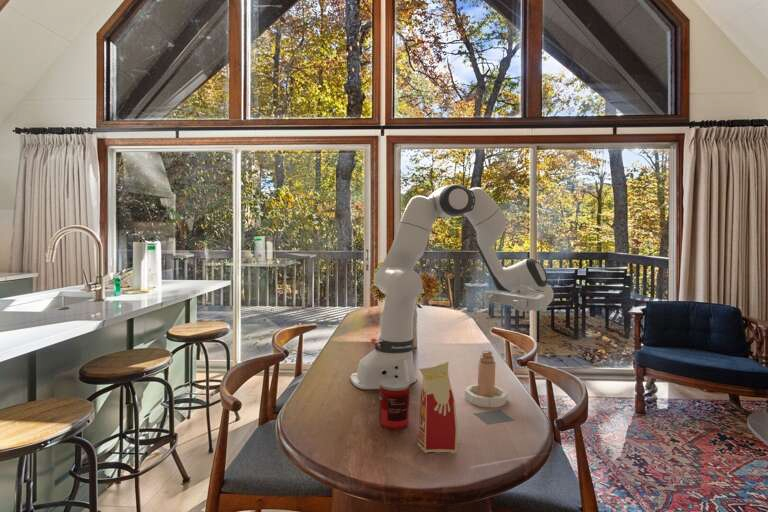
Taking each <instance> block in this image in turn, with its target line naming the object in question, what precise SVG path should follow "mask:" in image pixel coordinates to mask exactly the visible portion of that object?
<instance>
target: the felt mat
mask: <svg viewBox="0 0 768 512" xmlns="http://www.w3.org/2000/svg"><path fill="white" fill-rule="evenodd" d="M473 414H474V415H475V416H476V417H477V418H479V419H480V420H481V421H482V422H484V423H485V424H486V425H492V424H498V423H499V424H500V423H505V422H507V423H509V422H513V421H516V419H514V418H512V416H509V415H508V414H507V413H505V412H504V411H502V410H501V409H497V410H490V411H482V412H476V413H475V412H474V413H473Z"/></svg>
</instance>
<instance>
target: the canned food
mask: <svg viewBox="0 0 768 512" xmlns="http://www.w3.org/2000/svg"><path fill="white" fill-rule="evenodd" d="M378 413H379V416H378V417H379V418H378V419H379V423H380V426H382V427H383V428H385V429H388V430H392V431H393V430H396V431H397V430H398V431H399V430H402V429H405V428H407V427H408V425H409V422H410V421H409V420H410V419H409V418H410V417H409V416H410V385H409V382H408V381H406V380H404V379H400V378H387V379H383V380H382V381H381V382H380V389H379V412H378Z"/></svg>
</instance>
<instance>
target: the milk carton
mask: <svg viewBox="0 0 768 512" xmlns="http://www.w3.org/2000/svg"><path fill="white" fill-rule="evenodd" d="M418 370H419V371H420V372H421V375H422V377H423V378H422V384H421V389H420V390H421V392H420V400H419V401H420V403H419V414H418V416H419V420H418V422H419V423H418V424H419V427H418V435H417V436H418V437H417V447H419V446H420V447H421V448H420V447H419V448H420V449H421V450H422V451H423V452H424V453H425V454H428V453H427V452H435V453H441V452H451V453H450V454H457V453H458V452H457V451H458V450H457V449H458V421H457V419H458V418H457V411H456V399H455V397H454V392H453V389H452V384H451V382H450V378H449V377H450V375H449V361H446V362H443V363H442V362H441V363H440V364H436V365H434V366H429V367H428V366H427V367H422V368H418Z"/></svg>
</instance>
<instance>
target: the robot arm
mask: <svg viewBox="0 0 768 512" xmlns="http://www.w3.org/2000/svg"><path fill="white" fill-rule="evenodd" d="M462 215H463V216H465V217H466V219H468V221H469V222H470V224H471V225H472V226H473V228H474V230H475V233H476V237H475V245H476V248H477V250H478V252H479V255H480V256H481V258H482V260H483V262H484V264H485V266H486V268H487V270H488V272H489V275H490V276H491V280H492V282H493V285H494V287H495V290H485V292H484V296H483V297H484V301H485V302H487V303H488V302H489V303H493V304H499V305H505V306H511V307H512V308H513V309H514V310H516V311H518V312H530V311H534V312H536V311H537V312H547V309H548V306H549V305H550V304H551V303H552V301H554V300H553V299H554V296H555V294H554V289H553V288H552V287H551V286H550V285H549V283H548V277H547V273H546V269H545V267H544V266H543V265H542V263H540V262H539V261H537V260H536V259H533V258H531V257H527V258H526V259H523V260H521V261H520V260H519V261H518V262H516V263H514V264H512V265H509V266H503V265H502V263H501V261H500V259H499V258H498V255H497V253H496V251H495V248H494V246H495V244H496V242H497V241H498V240H499V239H500V238H501V236H502V235H503V234H504V232H505V230H506V228H507V218H506V215H505V214H504V212H503V211H502V209H501V208H500V207H499V205H498V204H497V202H496V201H495V200H494V199H493V197H491V195H489V193H487V191H485V190H484V189H483V188H481V187H478V186H477V187H471V188H467V187H465V186H463V185H461V184H459V183H452V184H448V185H442V186H441V187H439V188H436V189H434V190H433V191H432V192H430V193H429V194H428V195H427V196H424V195H416V196H413V197H411V198H410V200H409V201H408V202H407V205H406V207H405V209H404V211H403V212H402V216H401V217H400V221H399V222H398V223H399V224H398V226H397V230H396V233H395V235H394V240H393V241H392V245H391V247H390V248H389V250H388V253H387V254H386V257H385V258H384V259H383V262H382V264H381V266H380V268H379V269H377V271H376V272H375V276H374V282H375V285H376V287H377V288H378V289H379V290H380V292H381V293H383V294H385V300H384V305H383V306H384V307H383V310H382V312H381V314H380V326H379V327H380V328H379V329H380V330H379V331H380V333H379V334H380V335H379V337H378V339H376V338H375V337H372V338H371V339H370V343H371V344H372V345H373V346H374V349H372V350H371V351H370V352H369V353H368V354H366V355H365V356H364V357H362V358H361V359H360V360H359V362H358V365H357V371H356V372H353V373H351V375H350V382H351V384H353V385H354V386H355V387H356V388H359V389H360V390H380V382H381V381H382V380H383V379H387V378H400V379H404V380H406V381H408V382H409V386H410V385H412V384H414V383H415V382H416V381H417V380H418V378H417V375H416V371H415V365H414V351H415V342H414V341H415V339H414V337H413V332H414V330H413V329H414V315H415V311H416V310H415V308H416V306H417V301H418V299H419V298H418V297H419V296H420V295H421V293H422V291H423V289H424V282H423V280H422V278H421V276H420V275H419V273H417V272H416V271H415V270H414V268H415V267H416V264H417V263H418V261H419V260H420V259H421V258H422V257H423V255H424V253H425V251H426V247H427V244H428V241H429V239H430V235H431V233H432V232H431V231H432V228H433V225H434V223H435V221H436V220H437V219H453V218H455V217H459V216H462Z"/></svg>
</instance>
